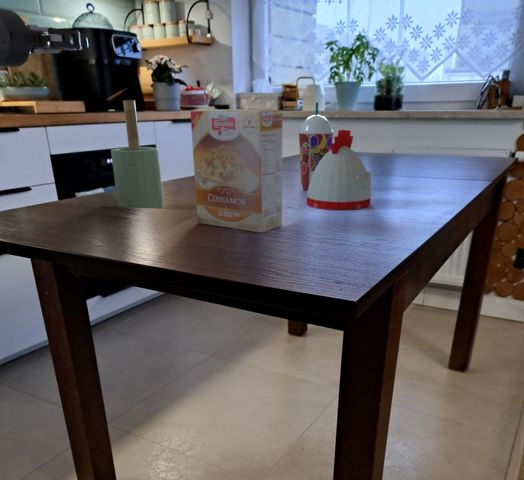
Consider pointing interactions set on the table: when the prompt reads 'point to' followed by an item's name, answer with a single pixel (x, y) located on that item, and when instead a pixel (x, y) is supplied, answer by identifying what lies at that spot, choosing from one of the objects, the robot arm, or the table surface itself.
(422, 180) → the table surface
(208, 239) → the table surface
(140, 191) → the green canister
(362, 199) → the kitchen timer
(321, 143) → the smoothie
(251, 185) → the coffeecake box
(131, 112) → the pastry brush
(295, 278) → the table surface
